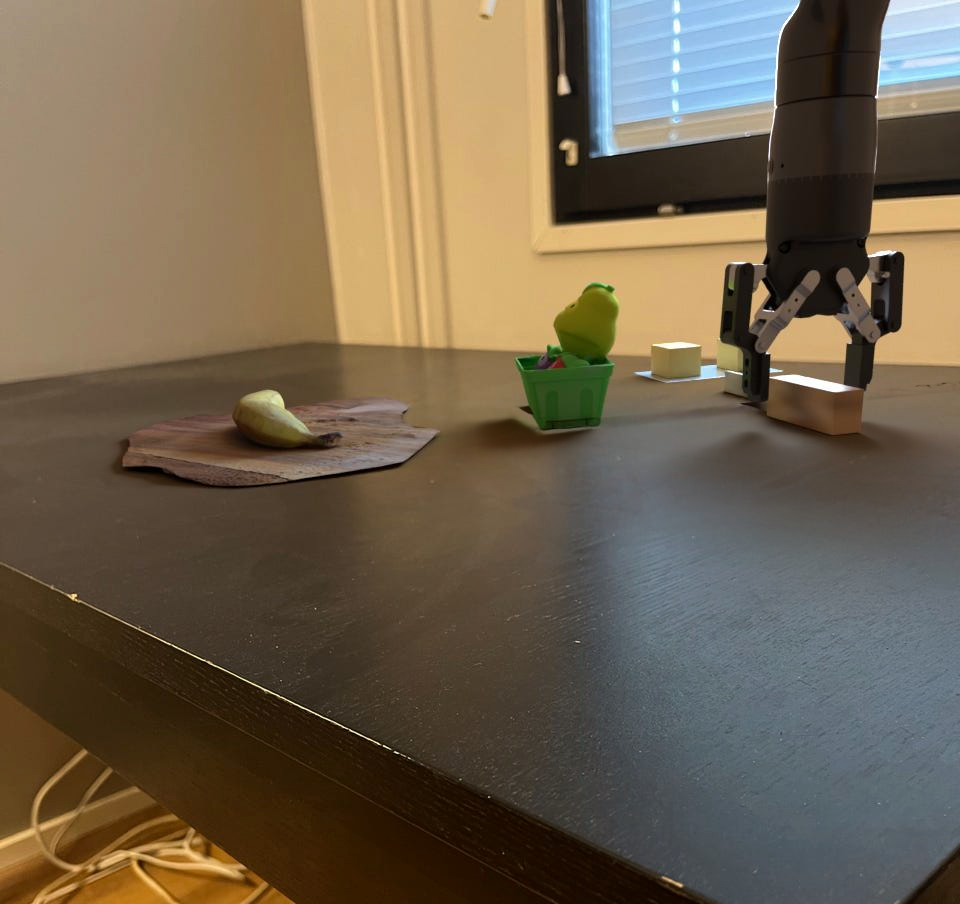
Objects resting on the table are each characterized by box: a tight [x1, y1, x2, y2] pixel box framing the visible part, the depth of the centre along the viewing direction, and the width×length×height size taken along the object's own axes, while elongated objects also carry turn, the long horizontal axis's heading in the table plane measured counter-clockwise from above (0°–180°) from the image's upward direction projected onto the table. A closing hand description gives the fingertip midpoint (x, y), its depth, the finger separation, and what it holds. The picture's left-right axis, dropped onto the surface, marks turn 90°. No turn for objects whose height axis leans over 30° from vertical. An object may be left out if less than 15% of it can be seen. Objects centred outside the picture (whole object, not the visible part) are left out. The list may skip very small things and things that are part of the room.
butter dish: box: [633, 364, 783, 384], centre depth 104 cm, size 13×9×1 cm
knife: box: [723, 370, 865, 436], centre depth 82 cm, size 20×2×3 cm, turn 13°
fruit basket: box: [514, 281, 621, 430], centre depth 85 cm, size 11×9×11 cm
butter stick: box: [650, 341, 702, 379], centre depth 103 cm, size 4×5×3 cm
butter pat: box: [716, 337, 743, 372], centre depth 104 cm, size 2×5×3 cm, turn 13°
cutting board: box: [122, 389, 442, 487], centre depth 86 cm, size 35×27×4 cm
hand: (806, 396), depth 79 cm, fingers open, 8 cm apart
